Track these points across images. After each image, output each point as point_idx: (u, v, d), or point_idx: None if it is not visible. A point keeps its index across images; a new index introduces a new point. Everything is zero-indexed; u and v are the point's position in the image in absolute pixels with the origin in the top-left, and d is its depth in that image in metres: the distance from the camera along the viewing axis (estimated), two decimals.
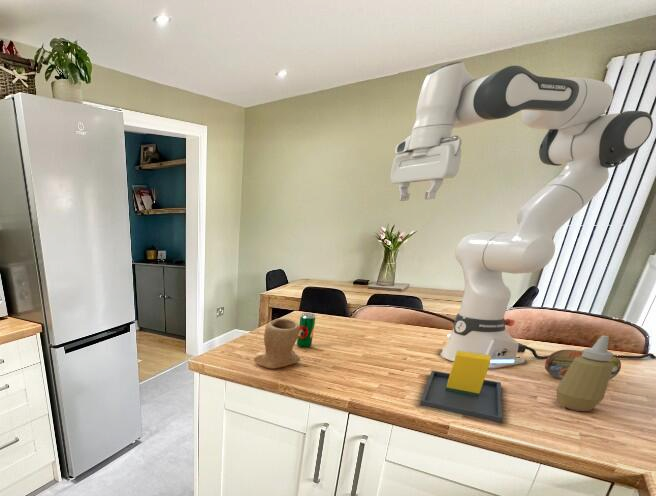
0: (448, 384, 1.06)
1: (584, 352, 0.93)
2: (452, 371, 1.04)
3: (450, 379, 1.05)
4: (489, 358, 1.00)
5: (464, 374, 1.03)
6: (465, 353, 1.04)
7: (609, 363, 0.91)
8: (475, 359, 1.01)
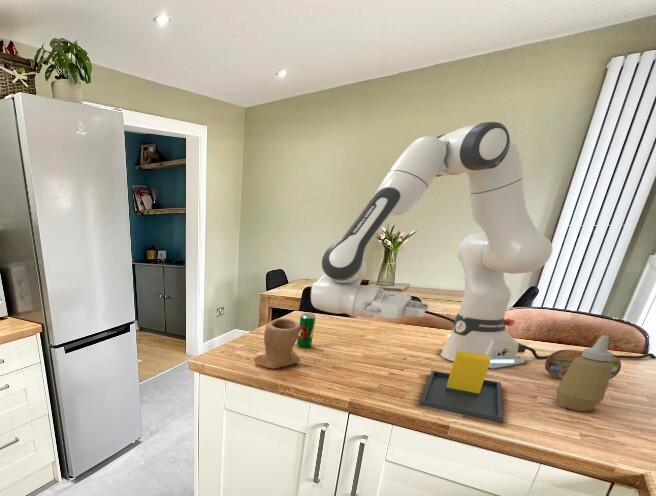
0: (448, 384, 1.06)
1: (584, 352, 0.93)
2: (452, 371, 1.04)
3: (450, 379, 1.05)
4: (489, 358, 1.00)
5: (464, 374, 1.03)
6: (465, 353, 1.04)
7: (609, 363, 0.91)
8: (475, 359, 1.01)
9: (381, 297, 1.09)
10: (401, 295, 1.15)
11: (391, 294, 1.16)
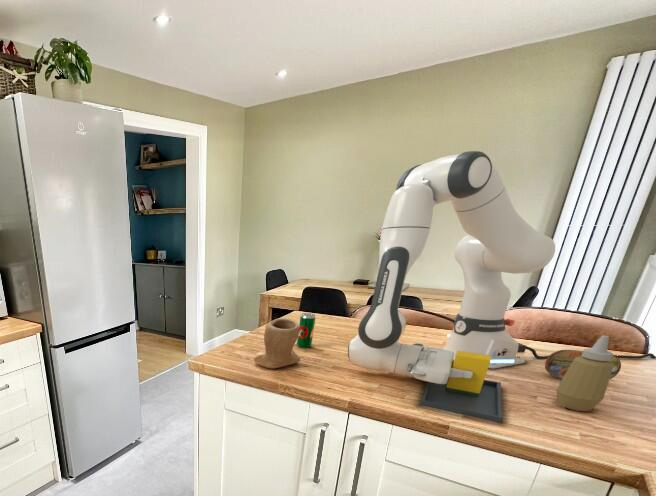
0: (448, 384, 1.06)
1: (584, 352, 0.93)
2: None
3: (450, 379, 1.05)
4: (489, 358, 1.00)
5: None
6: (465, 353, 1.04)
7: (609, 363, 0.91)
8: (475, 359, 1.01)
9: (424, 358, 1.07)
10: (443, 351, 1.13)
11: (433, 350, 1.14)
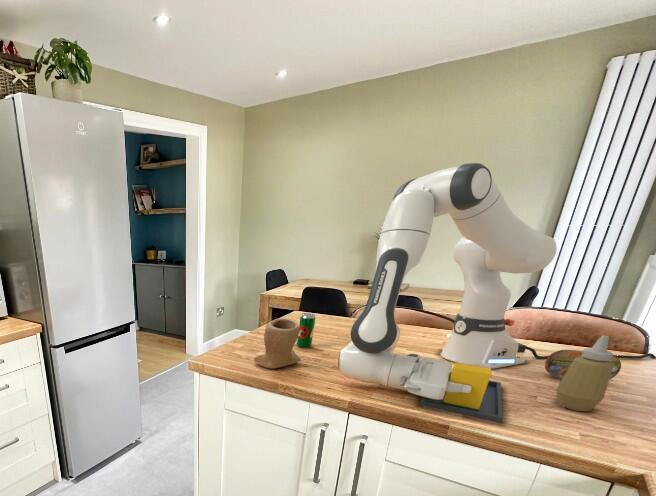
0: (445, 399, 0.98)
1: (584, 352, 0.93)
2: None
3: (447, 393, 0.97)
4: (489, 371, 0.92)
5: None
6: (463, 366, 0.96)
7: (609, 363, 0.91)
8: (474, 372, 0.93)
9: (419, 370, 0.99)
10: (440, 362, 1.05)
11: (429, 361, 1.06)
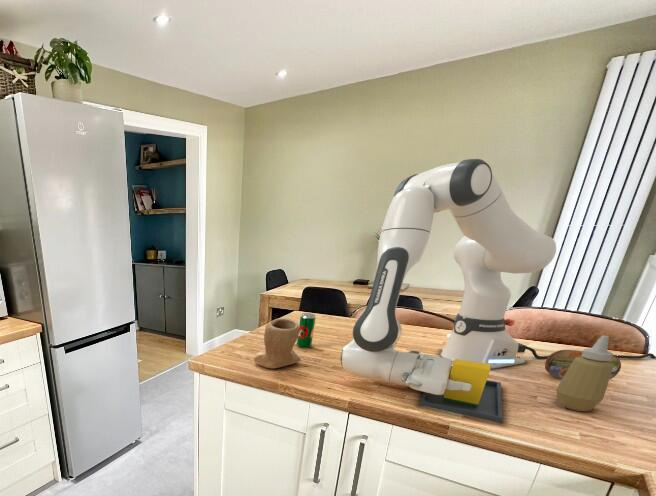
0: (445, 394, 1.00)
1: (584, 352, 0.93)
2: None
3: (447, 389, 1.00)
4: (489, 367, 0.94)
5: None
6: (463, 362, 0.98)
7: (609, 363, 0.91)
8: (474, 368, 0.95)
9: (420, 366, 1.02)
10: (441, 359, 1.07)
11: (430, 358, 1.08)
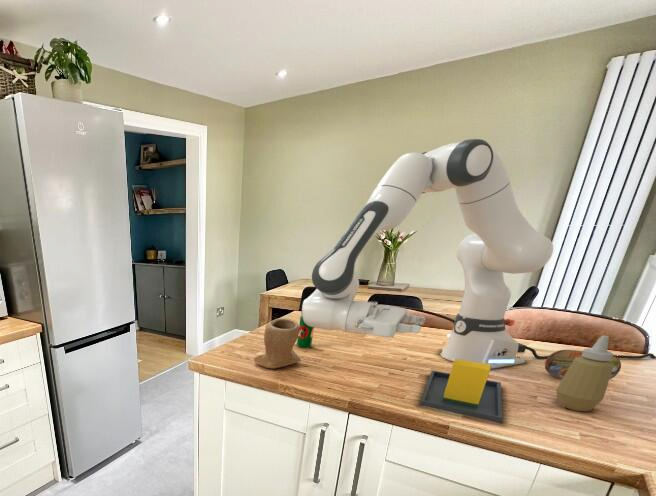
0: (445, 394, 1.00)
1: (584, 352, 0.93)
2: (449, 380, 0.99)
3: (447, 389, 1.00)
4: (489, 367, 0.94)
5: (462, 383, 0.97)
6: (463, 362, 0.98)
7: (609, 363, 0.91)
8: (474, 368, 0.95)
9: (374, 313, 1.04)
10: (396, 308, 1.10)
11: (386, 308, 1.11)
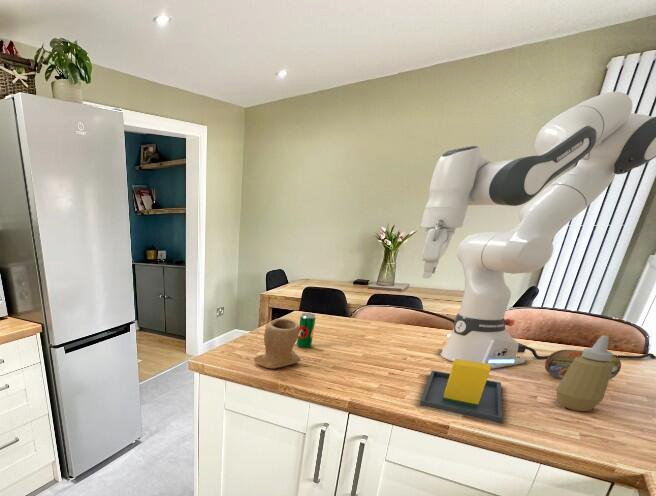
0: (445, 394, 1.00)
1: (584, 352, 0.93)
2: (449, 380, 0.99)
3: (447, 389, 1.00)
4: (489, 367, 0.94)
5: (462, 383, 0.97)
6: (463, 362, 0.98)
7: (609, 363, 0.91)
8: (474, 368, 0.95)
9: (449, 233, 1.00)
10: (446, 245, 1.08)
11: (449, 236, 1.07)
